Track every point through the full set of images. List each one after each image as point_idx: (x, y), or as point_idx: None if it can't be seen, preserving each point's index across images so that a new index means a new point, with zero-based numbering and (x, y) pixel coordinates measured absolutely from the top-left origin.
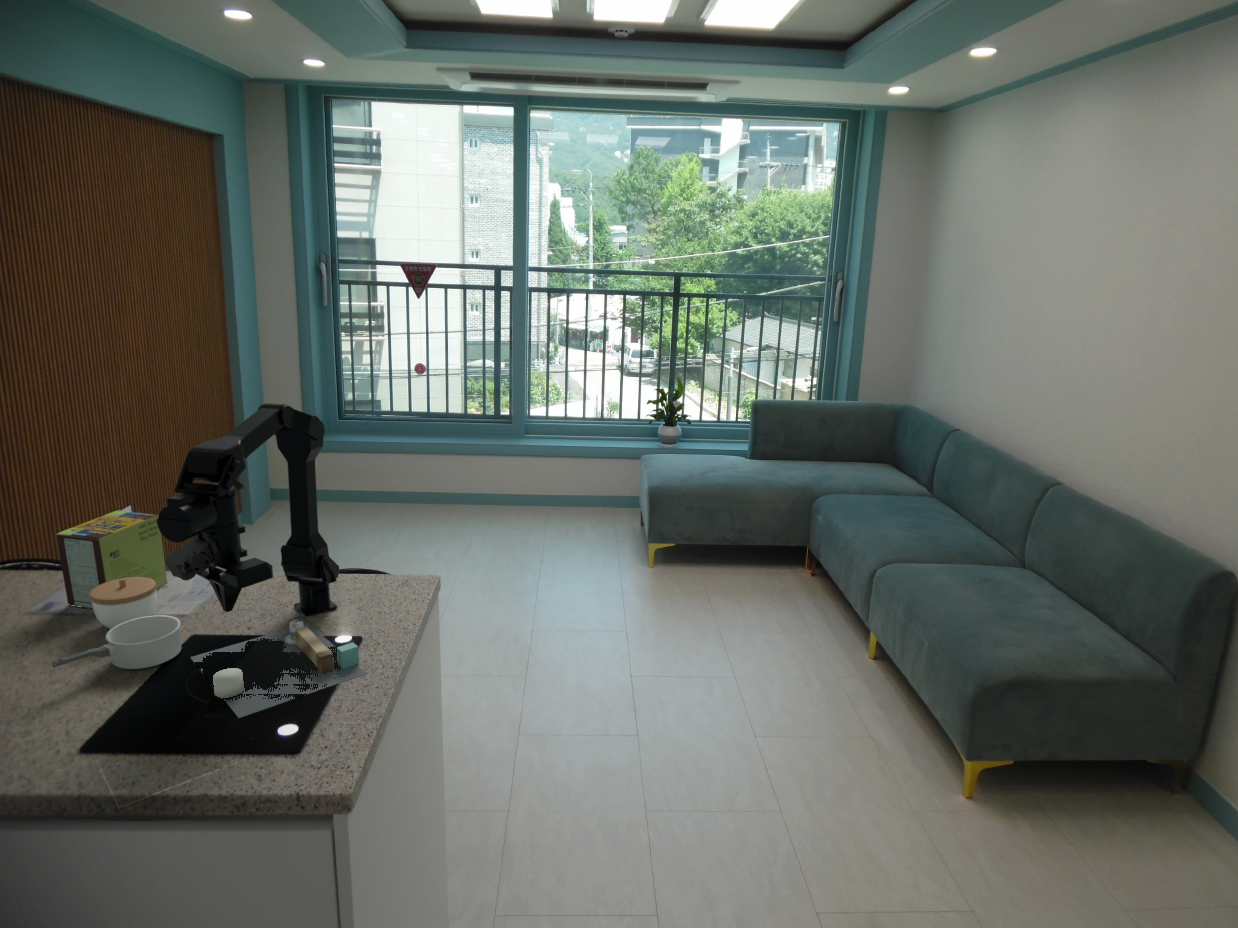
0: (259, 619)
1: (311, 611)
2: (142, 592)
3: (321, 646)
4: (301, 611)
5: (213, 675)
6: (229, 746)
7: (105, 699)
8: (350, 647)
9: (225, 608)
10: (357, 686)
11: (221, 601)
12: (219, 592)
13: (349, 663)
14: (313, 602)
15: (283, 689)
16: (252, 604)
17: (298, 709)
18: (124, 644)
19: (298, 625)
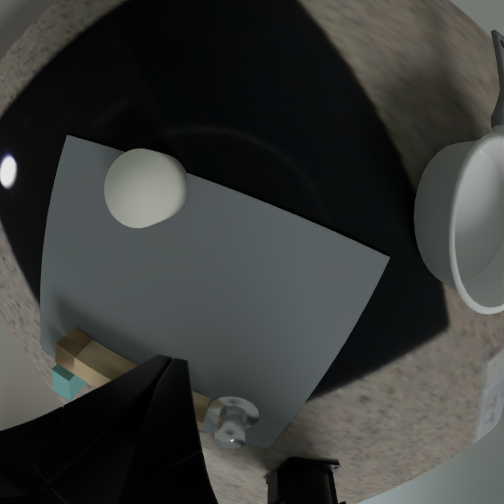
0: (369, 422)
1: (291, 467)
2: None
3: (90, 380)
4: (308, 462)
5: (164, 162)
6: (38, 87)
7: (382, 47)
8: (57, 385)
9: (145, 363)
10: (25, 314)
11: (155, 395)
12: (135, 453)
13: None
14: (284, 482)
15: (76, 252)
16: (412, 434)
17: (25, 218)
18: (490, 137)
19: (215, 434)
